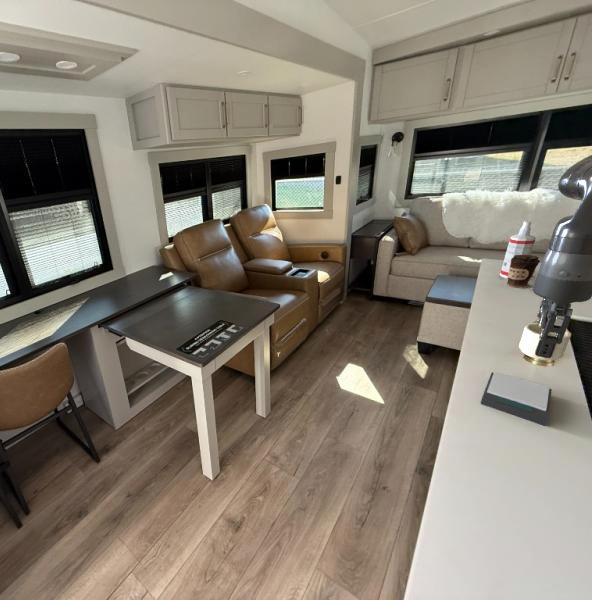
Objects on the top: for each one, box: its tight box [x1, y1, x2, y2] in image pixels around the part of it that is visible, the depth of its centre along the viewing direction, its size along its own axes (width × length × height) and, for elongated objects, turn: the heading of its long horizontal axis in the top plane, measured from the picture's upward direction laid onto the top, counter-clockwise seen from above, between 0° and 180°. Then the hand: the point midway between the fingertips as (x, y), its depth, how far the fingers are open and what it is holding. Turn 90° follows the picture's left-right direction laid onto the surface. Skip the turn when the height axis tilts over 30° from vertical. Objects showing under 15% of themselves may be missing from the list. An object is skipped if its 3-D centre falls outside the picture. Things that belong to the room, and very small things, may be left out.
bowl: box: [518, 322, 572, 361], centre depth 65 cm, size 6×6×6 cm
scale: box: [480, 371, 553, 426], centre depth 78 cm, size 13×11×3 cm
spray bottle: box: [499, 220, 537, 279], centre depth 140 cm, size 8×8×25 cm
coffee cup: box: [506, 254, 541, 289], centre depth 133 cm, size 9×8×13 cm
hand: (541, 348), depth 66 cm, fingers closed on bowl, 6 cm apart
